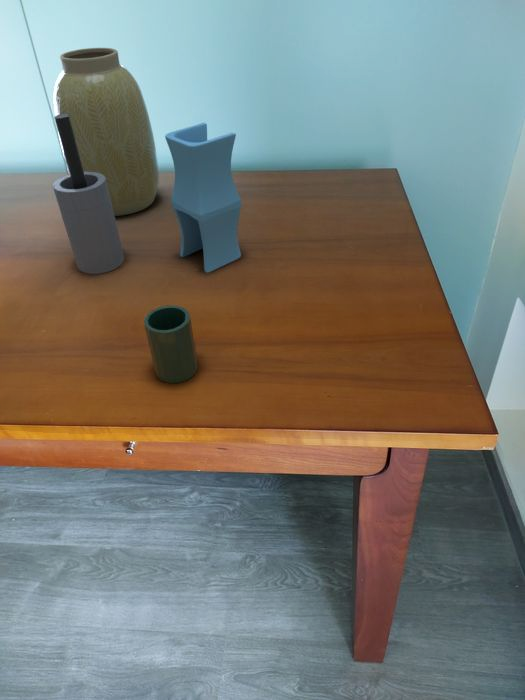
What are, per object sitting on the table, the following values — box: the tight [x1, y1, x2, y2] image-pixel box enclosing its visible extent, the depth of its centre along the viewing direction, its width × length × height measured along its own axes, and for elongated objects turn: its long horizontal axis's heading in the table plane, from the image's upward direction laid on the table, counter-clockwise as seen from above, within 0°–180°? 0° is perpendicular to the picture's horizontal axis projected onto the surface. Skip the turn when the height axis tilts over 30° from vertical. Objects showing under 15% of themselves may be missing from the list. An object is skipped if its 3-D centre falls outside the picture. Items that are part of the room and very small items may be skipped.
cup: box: [52, 172, 125, 275], centre depth 85 cm, size 8×8×14 cm
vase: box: [53, 47, 161, 217], centre depth 99 cm, size 17×17×27 cm
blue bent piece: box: [164, 122, 242, 274], centre depth 83 cm, size 8×8×20 cm
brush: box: [54, 114, 88, 189], centre depth 81 cm, size 3×3×22 cm
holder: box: [143, 304, 199, 384], centre depth 65 cm, size 5×5×8 cm
